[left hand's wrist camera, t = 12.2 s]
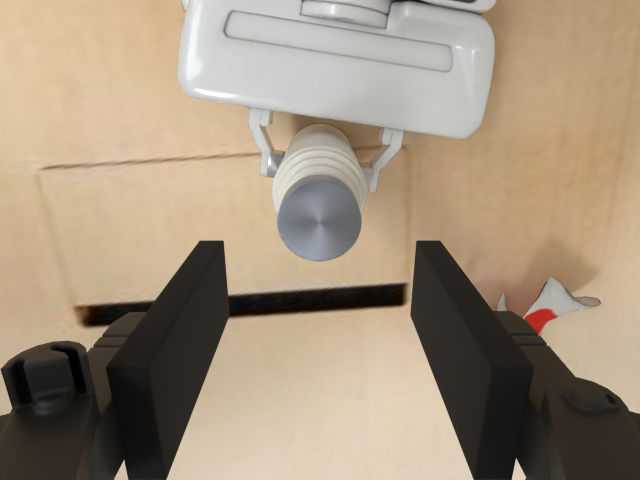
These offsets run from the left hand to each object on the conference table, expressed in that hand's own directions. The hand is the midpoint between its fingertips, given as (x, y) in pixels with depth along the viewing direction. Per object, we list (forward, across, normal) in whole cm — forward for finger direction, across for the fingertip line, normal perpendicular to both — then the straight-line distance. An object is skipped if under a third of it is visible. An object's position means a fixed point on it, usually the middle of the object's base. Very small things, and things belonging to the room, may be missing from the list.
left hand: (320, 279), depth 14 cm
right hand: (+18, 0, -1) cm, 18 cm away
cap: (+6, 0, 0) cm, 6 cm away
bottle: (+24, 0, 0) cm, 24 cm away
